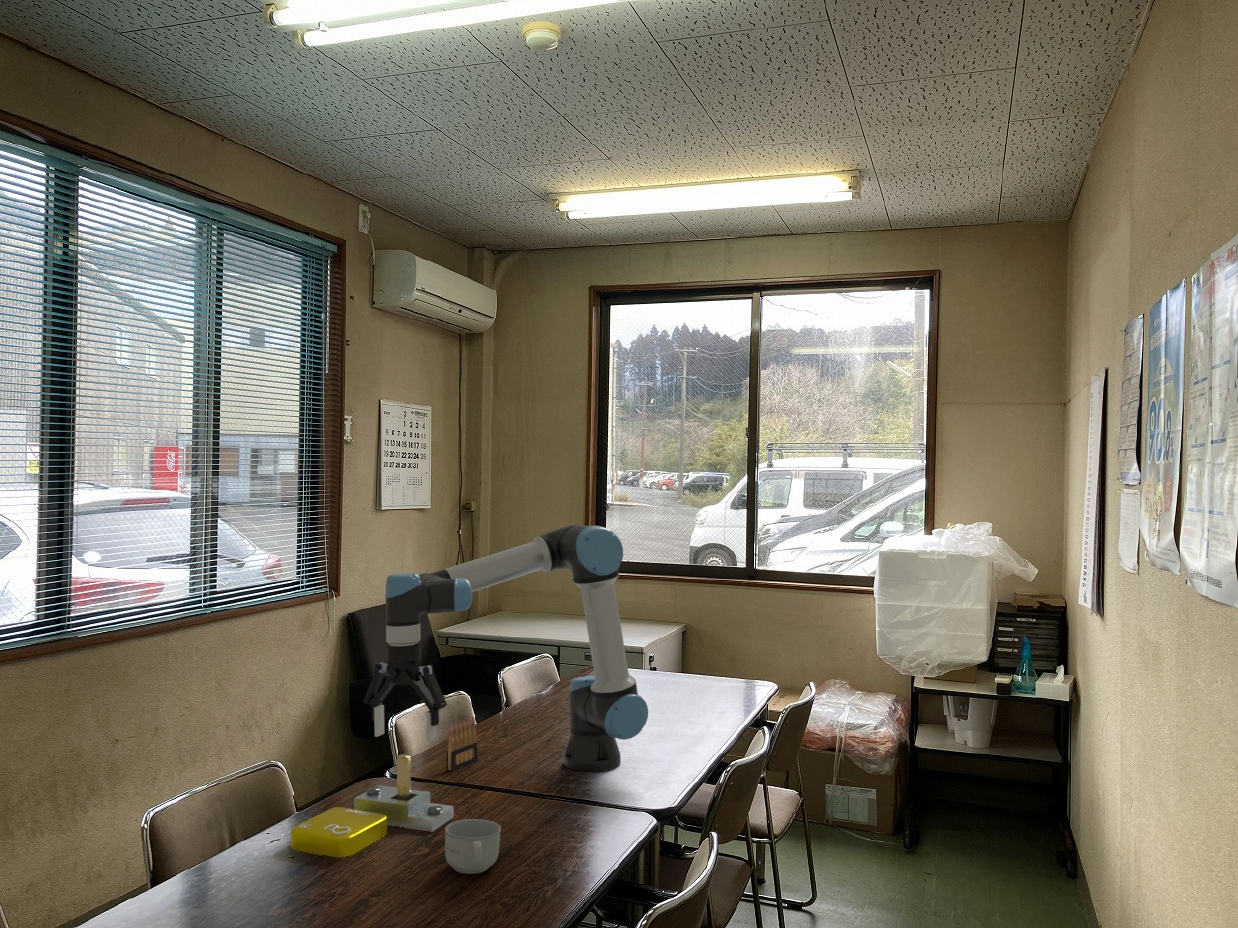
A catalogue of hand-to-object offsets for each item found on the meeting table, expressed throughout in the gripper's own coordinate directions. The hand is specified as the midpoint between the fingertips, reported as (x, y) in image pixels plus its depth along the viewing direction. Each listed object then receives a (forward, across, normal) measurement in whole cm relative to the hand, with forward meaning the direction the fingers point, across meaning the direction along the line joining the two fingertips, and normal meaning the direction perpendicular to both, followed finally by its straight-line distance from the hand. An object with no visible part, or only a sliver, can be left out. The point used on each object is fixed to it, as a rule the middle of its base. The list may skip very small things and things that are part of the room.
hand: (405, 737), depth 205 cm
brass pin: (+18, 0, 0) cm, 18 cm away
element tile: (+18, +6, +15) cm, 25 cm away
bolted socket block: (+18, 0, 0) cm, 18 cm away
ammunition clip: (+19, +7, -38) cm, 43 cm away
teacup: (+18, -28, +19) cm, 38 cm away
